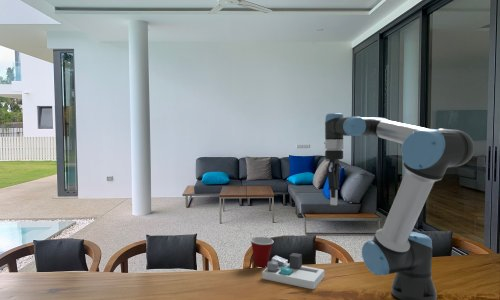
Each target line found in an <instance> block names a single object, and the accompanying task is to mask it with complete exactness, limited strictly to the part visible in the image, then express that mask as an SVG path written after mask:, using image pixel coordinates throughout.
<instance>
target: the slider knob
mask: <svg viewBox="0 0 500 300" xmlns="http://www.w3.org/2000/svg"><path fill="white" fill-rule="evenodd" d="M289 263H290V267H291V268H296V269H299V268H300V267H301V266H303V254H302V253H297V252H296V253H295V252H292V253H291V254H289Z"/></svg>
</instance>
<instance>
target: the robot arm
mask: <svg viewBox="0 0 500 300" xmlns="http://www.w3.org/2000/svg"><path fill="white" fill-rule="evenodd" d="M324 129H325V130H324V134H325V135H324V136H325V137H324V139H325V141H324V143H323V144H324V148H325V152H324V156H325V157H324V158H325V159H326V160H329V162H328V165H327V167H326V171H327V180H328V181H327V182H328V189H327V190H329V191H330V192H329V196H330V199H329V203H330V204H329V205H330V206H337V205H338V190H340V189H341V188H340V175H341V163H340V162H339V160H343V159H344V150H343V149H344V137H346V136H347V137H359V136H360V137H364V136H365V137H366V136H368V137H369V136H370V137H376V138H380V139H384V140H386V141H390V142H394V143H398V144H401V149H400V150H401V152H400V153H401V154H402V155H401V159H402V161H403V163H402V164H403V168H404V169H405V173H404V175H403V177H402V180H401V183H400V186H399V188H398V190H397V192H396V195H395V197H394V199H393V203H392V204H391V207H390V209H389V212H388V214H387V217H386V219H385V222H384V224H383V227H382V228H379V229H377V230H376V232H375V233H374V235H373V238H372V240H367V241H366V242H365V243H363V244H362V247H361V257H362V259H363V263H364V265H365V266H366V268H367V269H368V271H369V272H370V273H372V274H373V275H376V276H388V275H391V274H395V275H394V278H393V281H392V284H391V294H392V295H393V296H394V297H395V298H396V299H398V300H437V299H438V298H437V297H438V295H437V294H438V293H437V290H436V287H435V284H434V281H433V278H432V272H433V271H432V266H433V264H432V263H433V241H432V240H433V239H432V238H431V237H430V236H429V235H426V234H424V233H420V232H416V231H415V232H414V231H413V229H414V228H415V225H416V223H417V221H418V218H419V217H420V214H421V212H422V210H423V207H424V206H425V203H426V201H427V199H428V197H429V195H430V194H431V193H430V192H431V190H432V189H433V187H434V184H435V182H438V181H442V179H443V177H444V176H445V174H446V172H447V169H448V168H456V167H461V166H463V165H465V164H467V163H468V162H469V161H470V160H471V159H472V158H473V155H474V152H475V143H474V140H473V138H471V136H470V135H469V134H468V133H466V131H462V130H459V129H447V128H438V129H434V128H426V127H422V126H417V125H414V124H413V125H412V124H408V123H402V122H398V121H395V120H389V119H387V118H386V117H380V116H379V117H378V116H377V117H365V116H364V117H361V116H346V117H344V114H343V113H341V112H338V113H336V112H335V113H334V112H333V113H332V112H331V113H327V114H326V115H325V121H324Z"/></svg>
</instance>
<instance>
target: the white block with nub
mask: <svg viewBox="0 0 500 300" xmlns="http://www.w3.org/2000/svg"><path fill="white" fill-rule="evenodd" d="M270 261H276V262H278V264H280V265H282V266H285V265H286V264H287V263H288V262H289V260H288V259H286V258H283V257H282V256H278V255H274V256H273V257H271V259H270Z"/></svg>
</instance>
